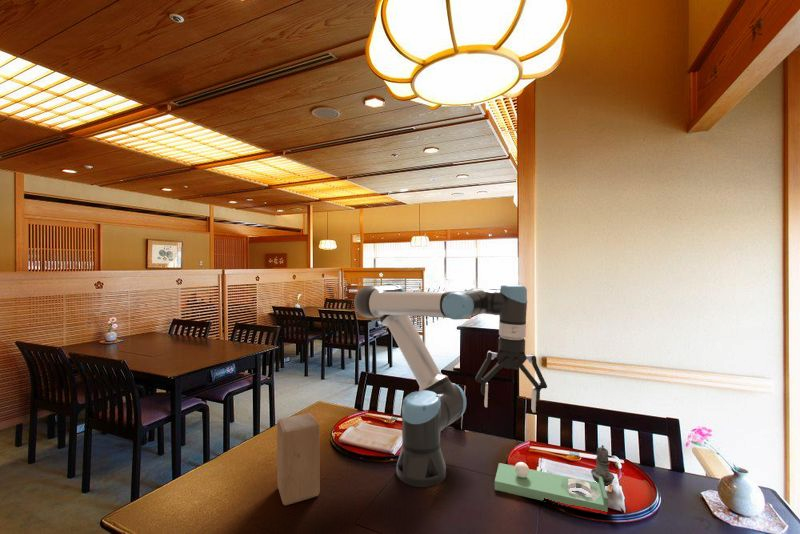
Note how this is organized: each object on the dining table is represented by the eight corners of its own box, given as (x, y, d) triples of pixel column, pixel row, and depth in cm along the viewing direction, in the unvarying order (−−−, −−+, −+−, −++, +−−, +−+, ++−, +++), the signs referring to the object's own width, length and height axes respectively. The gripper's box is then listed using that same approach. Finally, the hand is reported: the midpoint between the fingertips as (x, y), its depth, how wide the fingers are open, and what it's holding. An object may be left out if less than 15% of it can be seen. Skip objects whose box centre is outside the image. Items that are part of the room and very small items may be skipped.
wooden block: (282, 508, 94) (282, 432, 94) (276, 487, 103) (276, 417, 103) (320, 496, 99) (320, 424, 99) (311, 477, 108) (311, 411, 108)
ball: (513, 479, 103) (514, 465, 103) (515, 471, 106) (515, 458, 106) (528, 482, 101) (528, 468, 101) (529, 474, 105) (529, 460, 105)
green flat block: (494, 489, 102) (494, 473, 102) (499, 470, 111) (499, 456, 111) (607, 515, 91) (607, 498, 91) (602, 492, 100) (602, 476, 100)
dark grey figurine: (617, 494, 100) (617, 451, 100) (594, 491, 101) (594, 449, 101) (609, 481, 106) (609, 440, 105) (588, 479, 107) (588, 439, 107)
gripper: (469, 336, 105) (466, 408, 105) (560, 343, 100) (556, 418, 101) (469, 331, 112) (466, 398, 113) (553, 337, 107) (550, 407, 108)
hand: (509, 408), depth 107 cm, fingers open, 13 cm apart
